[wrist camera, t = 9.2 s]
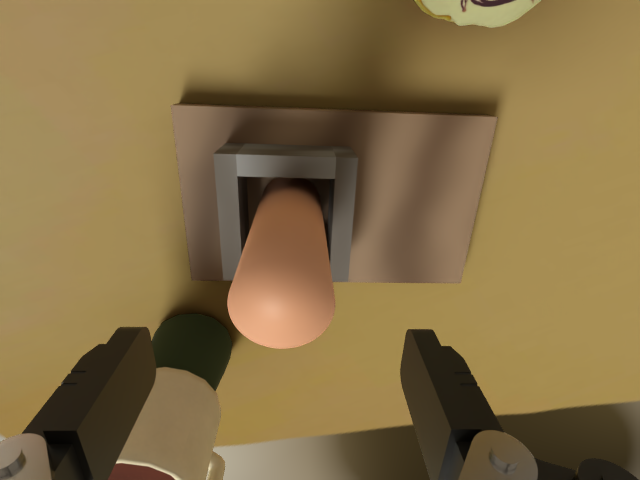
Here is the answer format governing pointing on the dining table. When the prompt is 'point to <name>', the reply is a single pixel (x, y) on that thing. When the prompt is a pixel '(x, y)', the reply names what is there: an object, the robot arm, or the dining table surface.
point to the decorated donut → (477, 11)
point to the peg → (284, 269)
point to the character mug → (180, 405)
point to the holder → (336, 185)
